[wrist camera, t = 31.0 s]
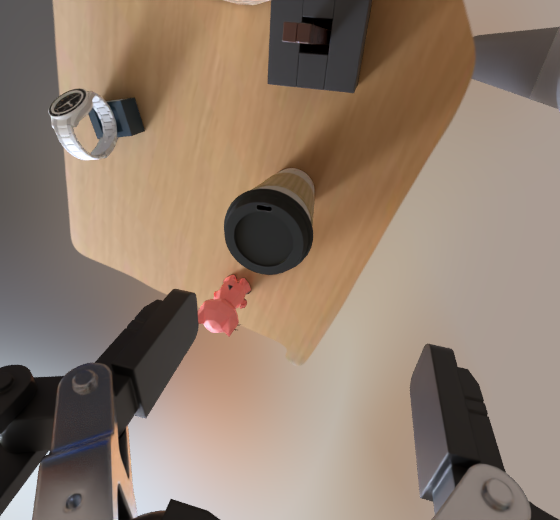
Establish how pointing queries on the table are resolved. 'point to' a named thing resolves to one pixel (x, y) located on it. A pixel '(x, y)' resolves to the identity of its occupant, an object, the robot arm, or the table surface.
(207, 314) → the cat figurine
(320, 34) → the chopsticks
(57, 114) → the watch
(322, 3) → the stand
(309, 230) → the coffee cup
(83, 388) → the robot arm
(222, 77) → the table surface
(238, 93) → the table surface
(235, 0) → the bowl
